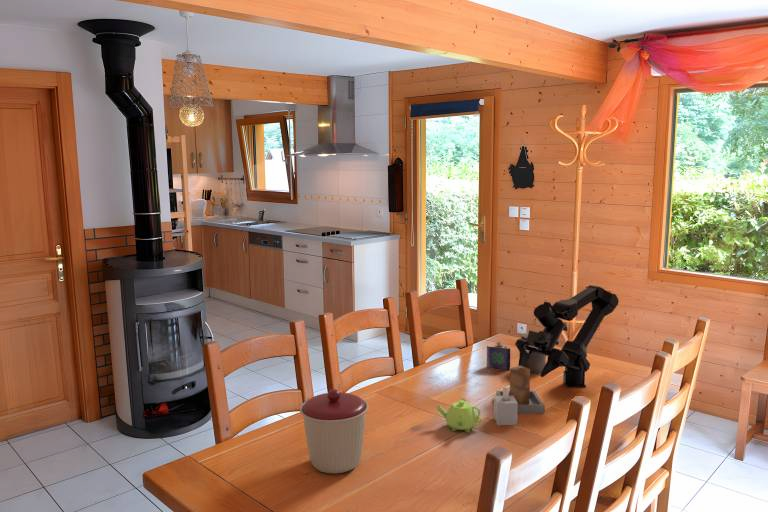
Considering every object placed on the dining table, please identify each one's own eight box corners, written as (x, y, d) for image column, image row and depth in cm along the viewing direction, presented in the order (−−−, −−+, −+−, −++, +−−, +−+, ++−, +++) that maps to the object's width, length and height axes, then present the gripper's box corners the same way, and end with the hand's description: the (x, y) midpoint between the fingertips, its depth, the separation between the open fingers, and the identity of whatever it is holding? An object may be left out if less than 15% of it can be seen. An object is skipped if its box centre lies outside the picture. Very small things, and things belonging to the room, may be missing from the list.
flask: (485, 368, 239) (486, 341, 238) (487, 365, 242) (488, 339, 240) (509, 371, 235) (509, 344, 234) (511, 369, 238) (511, 342, 236)
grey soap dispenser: (512, 416, 194) (513, 383, 192) (517, 424, 188) (517, 390, 187) (493, 416, 194) (494, 383, 192) (497, 425, 188) (498, 390, 187)
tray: (534, 397, 209) (534, 390, 209) (544, 413, 196) (544, 405, 196) (496, 398, 209) (496, 390, 209) (503, 414, 196) (503, 406, 196)
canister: (334, 442, 178) (333, 373, 175) (383, 461, 167) (382, 387, 163) (287, 467, 164) (284, 392, 161) (336, 489, 153) (334, 409, 149)
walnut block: (518, 399, 206) (519, 365, 204) (529, 403, 202) (530, 368, 200) (509, 403, 203) (510, 368, 201) (520, 407, 199) (521, 372, 197)
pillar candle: (518, 372, 234) (520, 334, 231) (520, 364, 243) (522, 327, 240) (545, 375, 231) (546, 337, 228) (546, 366, 240) (547, 329, 238)
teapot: (487, 429, 185) (488, 402, 184) (458, 439, 179) (458, 411, 178) (463, 416, 195) (463, 391, 193) (435, 425, 189) (435, 399, 187)
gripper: (518, 315, 212) (496, 353, 207) (564, 327, 197) (542, 367, 192) (532, 333, 218) (512, 370, 213) (578, 345, 203) (557, 385, 199)
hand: (529, 373), depth 204 cm, fingers open, 9 cm apart
